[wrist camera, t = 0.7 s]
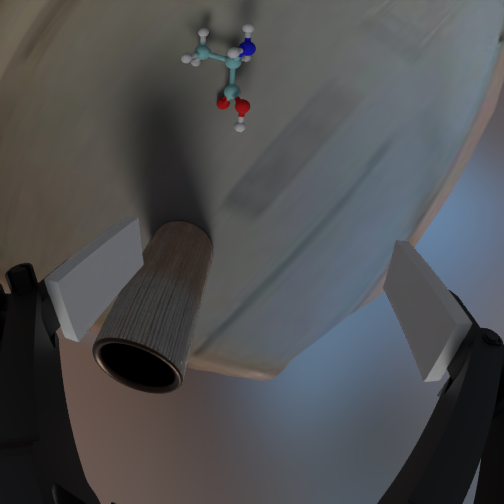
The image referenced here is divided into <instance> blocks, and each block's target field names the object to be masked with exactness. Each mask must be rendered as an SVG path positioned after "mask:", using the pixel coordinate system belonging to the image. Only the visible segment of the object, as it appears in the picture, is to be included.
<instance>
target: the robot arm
mask: <svg viewBox="0 0 504 504" xmlns="http://www.w3.org/2000/svg"><path fill="white" fill-rule="evenodd" d="M143 265H144V263H143V255H142V247H141V239H140V230H139V219H138V218H136V217H125V218H124V219H122V220H121V221H120V222H118V223H117V224H115V225H114V226H112V227H111V228H110V229H108V230H107V231H105V232H104V233H103V234H101V235H100V236H98V237H97V238H96V239H94V240H93V241H92V242H90V243H89V244H88V245H86V246H85V247H84V248H82V249H81V250H80V251H78V252H77V253H76V254H75V255H73V256H72V257H71V258H69V259H67V260H66V261H65V262H64V263H62V264H61V266H59V267H57V268H56V269H55V270H54V271H52V272H51V273H50V274H49V275H48V276H46V277H45V278H44V279H43V280H42V281H40V282H39V283H38V282H37V279H36V276H35V272H34V269H33V266H32V265H31V264H30V263H23V264H19V265H16V266H14V267H12V268H11V269H9V270H8V271H7V272H6V274H5V277H6V280H7V282H8V285H9V288H10V291H11V294H5V292H4V290H3V287H2V284H0V504H100V502H99V499H98V498H97V496H96V494H95V493H94V491H93V490H92V489H91V487H90V486H89V484H88V482H87V480H86V478H85V475H84V472H83V469H82V465H81V462H80V459H79V455H78V452H77V448H76V444H75V440H74V437H73V432H72V428H71V424H70V419H69V414H68V409H67V404H66V398H65V392H64V385H63V378H62V370H61V361H60V351H59V339H58V336H57V333H56V330H57V329H58V328H59V327H60V326H61V328H62V331H63V334H64V336H65V338H68V339H71V340H74V341H77V342H79V341H80V340H81V338H82V337H83V336H84V335H85V333H86V332H87V331H88V330H89V328H90V327H91V326H92V325H93V323H94V322H95V321H96V320H97V318H98V317H99V316H100V315H101V314H102V312H103V311H104V310H105V309H106V308H107V306H108V305H109V304H110V303H111V302H112V300H113V299H114V298H115V297H116V296H117V294H118V293H119V292H120V291H121V290H122V289H123V288H124V286H125V285H126V284H127V283H128V282H129V281H130V279H131V278H132V277H133V276H134V275H135V274H136V273H137V272H138V270H139V269H140V268H141V267H142V266H143ZM383 289H384V291H385V293H386V294H387V297H388V299H389V301H390V303H391V305H392V307H393V309H394V312H395V313H396V316H397V318H398V320H399V323H400V325H401V327H402V329H403V332H404V334H405V336H406V339H407V341H408V343H409V345H410V348H411V350H412V353H413V355H414V358H415V360H416V363H417V365H418V368H419V370H420V373H421V376H422V378H423V381H424V382H428V381H437V380H440V379H441V377H442V376H443V374H444V373H445V371H446V370H448V372H449V374H450V377H449V379H448V380H447V382H446V383H445V385H444V386H443V388H442V389H441V390H440V392H439V393H438V395H437V396H440V398H439V400H438V402H437V404H436V407H435V409H434V411H433V413H432V415H431V417H430V419H429V421H428V423H427V425H426V427H425V429H424V431H423V433H422V435H421V437H420V438H419V440H418V442H417V444H416V446H415V447H414V449H413V451H412V453H411V454H410V456H409V458H408V459H407V461H406V463H405V464H404V466H403V467H402V469H401V470H400V472H399V474H398V475H397V477H396V478H395V480H394V481H393V483H392V484H391V485H390V487H389V488H388V490H387V491H386V492H385V494H384V495H383V497H382V498H381V499H380V500H379V502H378V503H377V504H462V503H463V501H464V499H465V497H466V495H467V492H468V490H469V488H470V485H471V483H472V480H473V478H474V475H475V473H476V470H477V467H478V465H479V462H480V459H481V463H480V472H479V477H478V483H477V489H476V494H475V499H474V504H504V345H503V341H502V339H501V338H500V336H498V334H497V333H495V332H494V331H492V330H490V329H487V328H480V327H479V325H478V324H477V322H476V321H475V319H474V318H473V317H472V315H471V314H470V313H469V311H467V308H466V307H465V306H464V305H463V303H462V302H461V300H460V299H459V297H458V296H456V295H455V294H454V293H453V292H451V291H450V290H448V289H447V287H446V286H445V285H444V284H443V282H442V281H441V280H440V278H439V277H438V276H437V275H436V274H435V272H434V271H433V270H432V269H431V267H430V266H429V265H428V264H427V262H425V260H424V259H423V258H422V257H421V255H420V254H419V253H418V252H417V251H416V249H415V248H414V247H413V246H412V245H411V244H410V243H409V242H406V241H397V240H396V242H395V246H394V250H393V254H392V258H391V262H390V265H389V269H388V273H387V276H386V279H385V283H384V286H383ZM111 504H115V503H113V502H112V503H111Z"/></svg>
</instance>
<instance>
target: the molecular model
mask: <svg viewBox="0 0 504 504" xmlns="http://www.w3.org/2000/svg"><path fill="white" fill-rule="evenodd" d="M242 29H243V31H244V32H245V42H243V43H241V44H240V46H239V48H236V47H232V48H230V49H229V50H228V51H227V55H228V57H225V56H221V55H218V54H214V53H211V51H210V49H209V48H208V47H207V46H206V36H207V35H208V34H209V30H208V29H206V28H201V29H200V30H199V31H198V34H199V36H200V37H201V39H200V46H199V47H198V48H196V50H195V53H193V54H189V53H185V54H183V55H182V57H181V60H182V62H184V63H189V62H191V64H192V65H193V66H199V65H200V63H201V60H204V59H207V58H208V57H211V58H214V59H218V60H221V61H224V62H225V64H226V66H227V67H228V68H230V85H228V86H227V87H225V89H224V97H222V98H219V99H218V100H217V107H218V108H220V109H226V108H228V107H229V104H230V102H229V101H230V99H234V100H235V101H236V104H235V109H236V111H237V112H239V116H238V122H236V124H235V126H234V127H235V130H236V131H238V132H242V131H244V130H245V128H246V125H245V123H244V114H245V113H246V112H248V111H249V109H250V104H249V102H248V101H247V100H244V99H240V97H239V94H240V89H239V87H238V86H236V85H235V72H236V68H238V67H239V66H240V65H241V61H244V62H248V61H250V59H251V55H252V54H254V52H255V50H256V47H255V45H254V44H253V43H252V42H251V32H253V31H254V26H253V24H251V23H246V24H244V25H243V27H242Z"/></svg>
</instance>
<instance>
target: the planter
mask: <svg viewBox="0 0 504 504" xmlns="http://www.w3.org/2000/svg"><path fill="white" fill-rule="evenodd" d="M142 255H143V263H144V265H143V266H142V267H141V268H140V269H139V270H138V272H137V273H136V274H135V275H134V276H133V277H132V278H131V279H130V281H129V282H128V283H127V284H126V285H125V286H124V288H123V289H122V290H121V292H120V293H119V295H118V297H117V299H116V301H115V303H114V305H113V307H112V308H111V310H110V312H109V314H108V316H107V318H106V320H105V322H104V324H103V326H102V328H101V330H100V332H99V334H98V336H97V338H96V340H95V343H94V345H93V349H92V350H93V356H94V359H95V361H96V362H97V364H98V365H99V366H100V368H101V369H102V370H103V371H104V372H105V373H106V374H108V375H109V376H110V377H112V378H113V379H115V380H116V381H118V382H120V383H121V384H124V385H126V386H128V387H130V388H133V389H136V390H139V391H143V392H147V393H156V394H162V393H170V392H173V391H175V390H176V389H178V388H179V387H180V386H181V385H182V382H183V379H184V374H185V370H186V365H187V361H188V356H189V352H190V348H191V343H192V339H193V335H194V330H195V326H196V322H197V318H198V314H199V309H200V305H201V301H202V297H203V293H204V289H205V285H206V281H207V277H208V273H209V269H210V266H211V262H212V256H213V247H212V243H211V241H210V239H209V237H208V236H207V235H206V233H205V232H204V231H203V230H201V229H200V228H199V227H197V226H196V225H194V224H191V223H188V222H184V221H172V222H168V223H166V224H164V225H162V226H161V227H160V228H159V229H158V230H157V231H156V232H155V234H154V235H153V236H152V238H151V240H150V241H149V243H148V245H147V246H146V248H145V250H144V251H143V253H142Z"/></svg>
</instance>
